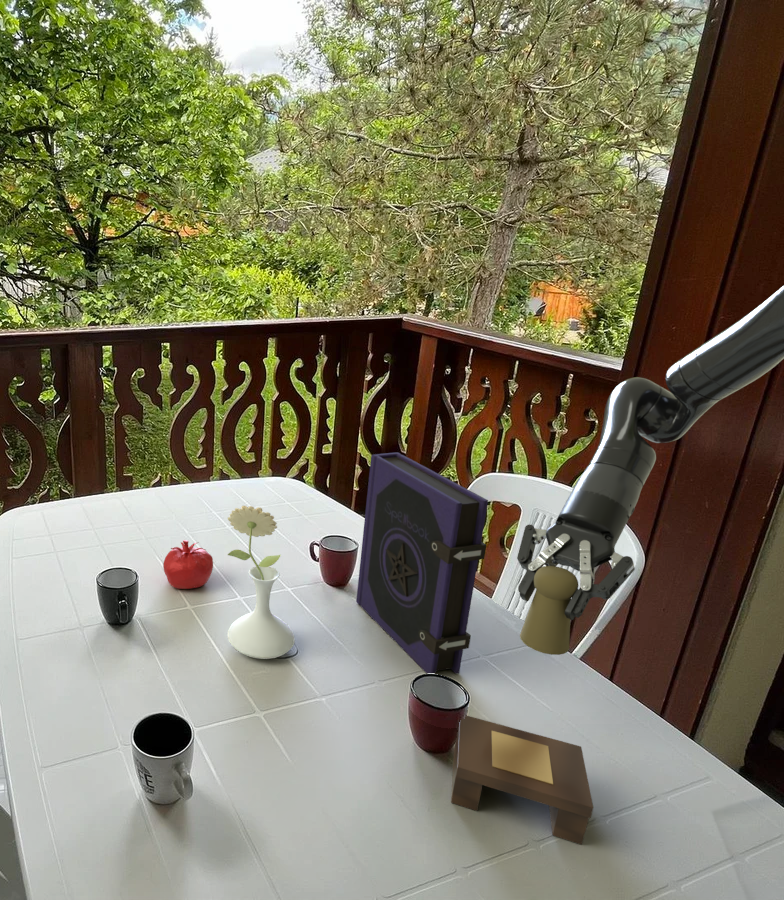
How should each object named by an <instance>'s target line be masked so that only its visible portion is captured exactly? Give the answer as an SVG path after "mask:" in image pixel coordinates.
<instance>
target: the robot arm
mask: <svg viewBox="0 0 784 900" xmlns="http://www.w3.org/2000/svg"><path fill="white" fill-rule="evenodd" d="M783 360H784V284H783V285H782V286H781V287H780V288H779V289H777V290H776V291H775V292H773V294H771V295H770V296H769V297H768V298H766V300H764V301H762V303H760V304H759V305H758V306H757V307H755V308H754V309H753V310H751V311H750V312H748V313H747V314H746V315H744V316H743V317H742V318H740V319H738V320H737V321H736V322H735V323H733V324H731V325H730V326H729V327H727V328H725V329H724V330H722V331H721V332H719V333H718V334H716V335H715V336H713V337H712V338H710V339H709V340H707V341H706V342H704V343H702V344H701V345H699V346H698V347H697V348H695V349H693V350H692V351H690V352H689V353H687V354H686V355H685V356H683V357H681V358H680V359H678V360H677V361H676V362H674V363H673V364H672V365H671V366H670V367H668V368H667V369H668V370H666V373H665V377H664V379H665V384H666V386H667V388H668V389H666V388H664V387H662V386H661V385H659V384H657V383H655V382H654V381H652V380H650V379H648V378H645V377H641V376H635V377H630V378H627V379H625V380H624V381H622V382H620V383H619V384H618V385H616V386H615V387H614V389H613V390H612V391H611V392H610V395H609V396H608V397H607V401H606V404H605V408H604V412H603V419H602V420H603V421H602V427H601V433H600V438H599V443H598V446H597V448H596V449H595V451H594V454H593V456H592V457H591V459H590V461H589V463H588V465H587V466H586V468H585V469H584V471H583V472H582V474H581V475H580V476H579V478H577V481H576V483H575V484H574V486H573V489H572V490H571V492H570V494H569V496H568V497H567V499H566V501H565V503H564V505H563V507H562V509H561V510H560V512H559V514H558V517H557V519H556V520H555V522H554V523H553V525H552V526H550V527H548V528H547V529H543V528H542V529H541V528H535V526H534V525H533V524H526V526H525V527H524V530H523V534H522V537H521V542H520V544H519V545H520V546H519V548H518V553H517V556H516V559H517V561H518V563H519V566H521V568H522V569H523V570H525V573H524V575H523V577H522V579H521V580H520V583H519V584H518V586H517V591H518V592H519V597H520V598H521V600H523V601H526V602H529V601H530V599H531V597H532V595H533V594H534V593H535V591H536V588H535V586H534V575H535V574H536V572H537V570H538V569H540V568H542V567H545V566H556V567H558V565H560V566H563V567H570V568H572V569H573V570H575V571H577V572H579V575H580V577H579V578H580V580H579V581H580V583H579V587H578V589H576V591H575V592H574V594H573V596H572V598H571V600H570V602H569V604H568V606H567V608H566V610H565V616H566V618H568V619H570V621H574V619H575V618H578V619H579V618H580V617H582V615H583V613H584V611H585V609H586V608H587V606H588V604H589V602H590V601H591V599H592V598H593V599H594V598H601V599H603V600H609V599H611V597H612V596H613V595H614V594H616V592H617V591H618V590H619V589H620V588H621V586H622V585H623V584H624V583H625V582H626V581H627V579H628V578H629V577H630V576H631V575H632V574H633V573H634V571H635V569H636V567H635V563H634V560H633V558H632V557H631V556H628V555H625V556H623V555H622V554H619V553H618V552H616V551H615V547H616V545H617V543H618V541H619V539H620V537H621V536H622V533H623V531H624V529H625V527H626V525H627V524H628V521H629V520H630V517H631V516H632V515H633V513H634V511H635V507H636V506H637V503H638V501H639V498H640V495H641V491H642V489H643V488H644V485H645V483H646V482H647V480H648V478H649V475H650V474H651V471H652V470H653V468H654V466H655V463H656V461H657V453H656V450H654V448H653V447H652V445H650V444H649V442H647V440H648V441H650V442H651V443H655V444H668V443H672V442H675V441H677V440H679V439H681V438H682V437H684V436H685V434H686V433H687V432H688V431H689V430H690V429H691V428H692V427H693V426H694V424H695V423H697V421H699V419H700V418H701V417H702V416H704V414H705V413H706V412H707V411H709V410H710V409H711V408H712V407H713V406H714V405H715V404H717V403H718V402H720V401H722V400H723V399H725V398H727V397H729V396H731V395H732V394H735V393H736V392H737V391H739V390H741V389H744V387H746V386H748V385H749V384H752V383H753V382H755V381H756V380H758V379H760V378H761V377H762V376H764V375H765V374H766V373H769V372H770V371H772V369H773V368H775V367H776V366H777V365H779V363H781V362H782V361H783ZM645 439H646V440H645ZM544 539H546V541H547V545H548V546H547V547H546V548H544V549H543V550H542V551H541V552H540V553H539V554H538V556H537V557H536V558H535V559H533V557H534V553H535V549H536V545H539V544H541V543H542V541H543V540H544ZM610 561H611V564H610V566H611V570H610V571H608V573H607V575H605V577H604V578H603V579H602V580H601V581H600V582H599V583H595V581H596V579H595V575H596V574H595V572H596V570H595V568H597V567H599V566H601V565H603V564H607V563H608V562H610Z"/></svg>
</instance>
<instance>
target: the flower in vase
mask: <svg viewBox="0 0 784 900" xmlns="http://www.w3.org/2000/svg"><path fill="white" fill-rule="evenodd" d="M274 519H275V516H274V515H271V513H270V512H269V511H268V512H267V511H266V512H264V511H263V508H262V507H260V506H259V507H257V508H255V507H254V506H251V505H250V506H248V507H247V505H242V506H241V507H240V508H238V507H235V508H234V510H231V513H230V514H229V516H228V517H227V521H229V522H230V523H229V524H230V526H232V528H233V530H235V531H238V532H239V533H240V534H245V535H246V536H248V537H249V540H248V552H245V551H244V550H242V549H233V550H231V551H230V552H228V553H227V556H230V557H234V558H237V559H238V560H241V561H247V560H249V559H250V558H251V560H252V562H253V564H254V565H255V566H254V567H252V568H250V569H249V570H248V575H249V577H250V578H251V580H252V581H253V584H254V589H255V606H254V609H253V610H252V611H251V612H248V613H246V614H243V615H242V616H240V617H238V618H237V619H236V620H234V621H233V622H232V623H231V625H230V626H229V628H228V630H227V633H226V634H227V636H226V637H227V640H228V642H229V643H230V645H231V647H233V649H234V650H236V651H237V652H238V653H240V654H242V655H244V656H247V657H250V658H254V659H261V660H269V659H275V658H279V657H282V656H284V655H286V654H288V652H289V651H290V650H291V649H292V648H293V647H294V644H295V641H296V639H295V634H294V632H293V629H292V628H291V627H290V625H289V624H288V623H287V622H285V621H284V620H283V619H281V618H280V617H278V616H277V615H275V614H274V613H273V612H272V611H271V609H270V598H271V592H272V588H273V585H274V583H275V582H276V580H277V579H279V577H280V572H279V571H278V569H276V568H274V567H272V565H275V564H276V562H278V561H279V559H280V558H281V556H282V554H276V555H267V556H265V557H264V558H263V559H261V561H259V563H258V562H257V561H256V560H255V558H254V556H253V554H252V550H251V549H252V537H255V538H259V537H263V538H264V537H265V536H271V535H273V532H275V529H277V528H278V526H277V524H278V523H277V522H276V521H275V520H274Z"/></svg>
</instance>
